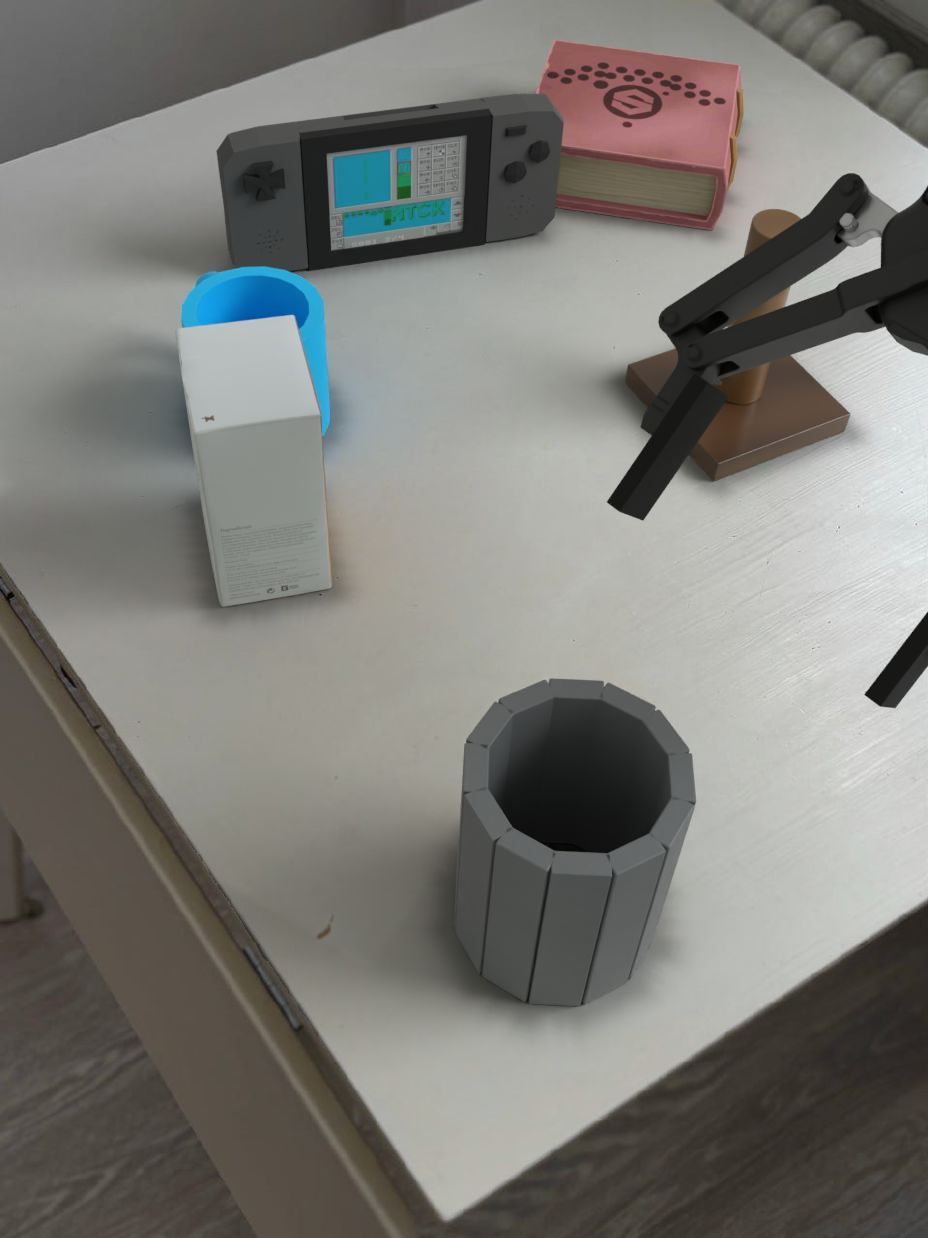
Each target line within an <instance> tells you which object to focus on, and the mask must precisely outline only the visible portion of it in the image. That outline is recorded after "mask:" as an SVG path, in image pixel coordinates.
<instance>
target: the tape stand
mask: <svg viewBox="0 0 928 1238" xmlns="http://www.w3.org/2000/svg"><path fill="white" fill-rule="evenodd" d="M801 219H802V217H800V216H799V215H797V214H795V213H794V212H791V211H788V210H785V209H781V208H768V209H764V210H760V211H758V212H757V213H756V214H755V215H754V216H753V217H752V219H751V222H750V227H749V231H748V235H747V239H746V243H745V247H744V253H743V257H744V256H746V255H747V254H749V253H750V252H752V251H753V250H755V249H756V248H758V247H759V246H761V245H763V244H764V243H766V242H767V241H769V240H770V239H772V238H773V237H775V236H776V235H778V234H779V233H781V232H782V231H784V230H785V229H787V228H788V227H790V226H791V225H793V224H795V223H796V222H798V221H799V220H801ZM791 287H792V285H791V286H790V287H788V288H787V289H785V290H784V291H782V292H780V293H779V294H777V295H776V296H774V297H773V298H771V299H769V300H768V301H766V302H765V303H763V304H762V305H760V306H758V307H757V308H755V309H754V310H752V311H751V312H749V313H747V314H746V315H744V316H743V317H741V318H740V319H738V320H736V321H735V322H733V323H732V324H730V325H729V326H727V327H726V328H728V327H731V326H733V325H736V324H739V323H742V322H744V321H747V320H750V319H753V318H755V317H758V316H761V315H764V314H767V313H769V312H772V311H775V310H778V309H780V308H783V307H786V306H787V302H788V298H789V294H790V291H791ZM677 363H678V352H677V350H676V348H675V347H674V348H673V349H669V350H667V351H664V352H661V353H658V354H655V355H653V356H649V357H646V358H643V359H640V360H637V361H634V362H632V363H629V364H628V365H627V368H626V372H625V373H626V375H625V378H624V379H625V381H624V383H625V384H626V386H628V387H629V389H630V390H631V391H632V392H633V393H634V394H635V395H636V397H637V398H638V399H639V401H641V402H642V403H643V404H644V405H645V406H646V408H647V409H648V408H649V406H650V405H651V404H652V402H653V401H654V399H655V398H656V397H657V395H658V393H659V392H660V390H661V389H662V387H663V386H664V384H665V383H666V381H667V380H668V378H669V377H670V375H671V374H672V372H673V371H674V369H675V368H676V366H677ZM719 380H720V381H721V382H722V384H721V385H715V384H712V385H713V386H714V387H715V388H717V389H718V390H720V391H721V392H723V393H724V394H726V395H727V396H729V397H728V399H727V400H726V402H725V403H724V405H723V406H722V408H721V409H720V410H719V412H718V413H717V415H716V416H715V418H714V419H713V421H712V422H711V423H710V425H709V426H708V428H707V429H706V431H705V432H704V434H703V435H702V436H701V438H700V439H699V441H698V442H697V444H696V445H695V447H694V448H693V449H692V451H691V452H690V454H689V456H690V457H691V458H692V459H693V460H694V461H695V463H696V464H697V465H698V466H699V467H700V468H701V469H702V471H704V472H705V473H706V475H707V476H708V477H709V478H710V479H711V480H712V481H713V482H716V481H719V480H722V479H724V478H726V477H729V476H732V475H735V474H737V473H739V472H743V471H745V470H748V469H750V468H753V467H755V466H759V465H761V464H763V463H766V462H769V461H771V460H774V459H777V458H778V457H781V456H784V455H787V454H789V453H792V452H795V451H797V450H800V449H802V448H805V447H807V446H810V445H813V444H815V443H818V442H821V441H823V440H825V439H830V438H831V437H833V436H836V435H840V434H842V433H845V431H846V429H847V426H848V424H849V420H850V418H851V412H849V410H848V409H846V408H845V406H844V405H843V404H841V403H840V402H839V401H838V400H837V399H836V398H835V397H834V396H833V395H832V394H831V393H830V392H829V391H828V390H827V389H826V388H825V387H824V386H823V385H822V384H821V383H820V382H819V381H818V380H817V379H816V378H814V377H813V376H812V375H811V373H810V372H808V371H807V370H806V368H805V367H803V365H801V363H799V362H798V360H796V359H795V358H794V357H793V355H789V356H786V357H783V358H780V359H778V360H775V361H772V362H769V363H766V364H763V365H760V366H757V367H754V368H751V369H748V370H745V371H743V372H740V373H737V374H734V375H731V376H728V377H725V378H722V379H719Z"/></svg>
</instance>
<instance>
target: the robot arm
mask: <svg viewBox="0 0 928 1238" xmlns="http://www.w3.org/2000/svg"><path fill="white" fill-rule="evenodd" d="M875 238H879V239H880V267H878V268H875V269H873V270H870V271H867V272H864V273H862V274H859V275H856V276H852V277H851V278H847V279H845V280H843V281H840V283H838V284H837V285H836V286H835V288H833V289H830V290H828V291H825V292H822V293H820V294H817V295H814V296H811V297H808V298H806V299H803V300H800V301H798V302H795V303H792V304H789V305H786V306H785V307H783V308H780V309H778V310H775V311H772V312H769V313H767V314H764V315H761V316H758V317H755V318H753V319H750V320H747V321H744V322H742V323H739V324H736V325H733V326H731V327H728V328H727V326H729V325H730V324H732V323H733V322H735V321H736V320H738V319H740V318H741V317H743V316H744V315H746V314H747V313H749V312H751V311H752V310H754V309H755V308H757V307H758V306H760V305H762V304H763V303H765V302H766V301H768V300H769V299H771V298H773V297H774V296H776V295H777V294H779V293H780V292H782V291H784V290H785V289H787V288H788V287H790V286H791V287H792V286H793V285H795V284H797V282H798V283H799V281H801V280H802V279H804V278H806V277H807V276H809V275H810V274H812V273H814V272H815V271H816V270H819V269H820V268H821V267H823V266H824V265H826V264H828V263H829V262H830V261H832V260H834V259H835V258H836V257H838V255H840V254H841V253H842V252H843V251H845V249H846V248H847V247H851V248H857V247H860V246H863V245H864V244H865V243H867V242H868V241H870V240H872V239H875ZM791 287H790V288H791ZM657 322H658V327H659V329H660V330H661V331H662V332H663V333H665V335H666V337H667V338H668V339H669V341H670V342H671V343H672V346H673V347H674V349H675V348H676V350H677V352H678V363H677V366H676V368H675V369H674V371H673V372H672V374H671V375H670V377H669V378H668V380H667V381H666V383H665V384H664V386H663V387H662V389H661V390H660V392H659V393H658V395H657V397H656V398H655V399H654V401H653V402H652V404H651V405H650V406H649V408H648V407H647V409H646V411H645V412H644V414H643V416H642V419H641V424H640V429H642V430H643V431H645V432H646V433H647V434H649V435H650V437H649V439H648V440H647V442H646V443H645V445H644V446H643V448H642V449H641V451H640V452H639V454H638V455H637V456H636V458H635V459H634V460H633V463H632V464H631V465H630V467H629V469H628V470H627V471H626V473H625V474H624V476H623V477H622V478H621V480H620V482H619V483H618V485H617V486H616V487H615V488H614V490H613V492H612V494H611V495H610V496H609V497H608V499H607V500H606V503H607V504H608V505H609V506H611V507H612V508H613V509H614V510H616V511H617V512H618V513H621V514H623V515H627V516H630V517H632V518H635V519H636V520H637V519H638V520H640V521H642V522H643V521H644V520H645V519H646V518H647V516H648V514H649V513H650V512H651V510H652V509H653V508H654V506H655V505H656V503H657V502H658V501H659V499H660V497H662V495H663V493H664V492H665V490H666V489H667V487H668V486H669V484H670V483H671V481H672V480H673V478H675V475H677V473H678V471H679V470H680V468H681V467H682V465H683V464H684V463H685V461H686V460H687V458H688V457H689V456H690V452H691V451H692V449H693V448H694V447H695V445H696V444H697V442H698V441H699V439H700V438H701V436H702V435H703V434H704V432H705V431H706V429H707V428H708V426H709V425H710V423H711V422H712V421H713V419H714V418H715V416H716V415H717V413H718V412H719V410H720V409H721V408H722V406H723V405H724V403H725V402H726V400H727V399H728V397H729V396H727V395H726V394H724V393H723V392H721V391H720V390H718V389H717V388H715V387H714V386H713V385H712V384H715V385H721V384H722V382H721V381H720V380H719V379H722V378H725V377H728V376H731V375H734V374H737V373H740V372H743V371H745V370H748V369H751V368H754V367H757V366H760V365H763V364H766V363H769V362H772V361H775V360H778V359H780V358H783V357H786V356H789V355H791V356H793V355H794V354H798V353H802V352H804V351H806V350H810V349H812V348H815V347H818V346H821V345H824V344H827V343H830V342H833V341H835V340H838V339H842V338H844V337H848V336H850V335H853V334H859V333H860V334H866V333H870V332H875V331H877V330H880V329H883V328H885V330H886V331H887V332H888V333H889V335H890V336H891V337H892V338H893V339H894V340H895V342H896V343H898V344H899V345H901V346H903V347H904V348H906V349H907V350H909V351H911V352H912V353H916V354H920V355H924V356H927V357H928V185H927V186H926V187H925V189H924V190H923V192H922V193H921V195H920V196H919V198H918V199H916V200H915V201H914V202H913V203H911V205H909V206H907V207H906V208H905V209H903V210H901V211H898V210H896V209H895V208H893V207H892V206H891V205H889V204H888V203H886V202H885V201H884V200H882V199H881V198H879V197H878V196H877V195H875V194H874V193H873V192H872V191H871V190H870V187H868V185H867V184H866V182H865V181H864V179H863V178H862V176H861V175H859V174H857V173H854V172H848V173H845V174H843V175H841V176H840V177H839V178H838V179H837V180H836V181H835V182H834V183H833V185H832V186H831V187H830V188H829V189H828V191H827V192H826V193H825V194H824V195H823V196H822V197H821V199H820V200H819V201H818V203H817V204H816V205H815V206H814V207H813V209H812V210H811V211H810V212H809V213H808V214H807V215H805V216H804V217H803V218H802V217H801V220H799V221H798V222H796V223H795V224H793V225H791V226H790V227H788V228H787V229H785V230H784V231H782V232H781V233H779V234H778V235H776V236H775V237H773V238H772V239H770V240H769V241H767V242H766V243H764V244H763V245H761V246H759V247H758V248H756V249H755V250H753V251H752V252H750V253H749V254H747V255H746V256H744V255H743V256H742V257H741V258H740V259H738V260H736V261H735V262H733V263H732V264H731V265H729V266H727V267H726V268H724V269H723V270H722V271H720V272H718V273H717V274H715V275H714V276H712V277H710V278H709V279H708V280H706V281H704V282H703V283H701V284H700V285H699V286H696V287H695V288H694V289H692V290H691V291H689V292H688V293H686V294H685V295H683V296H682V297H680V298H679V299H677V300H676V301H674V302H672V303H671V304H669V305H668V306H666V307H665V308H664V309H663V310H662V311H661V312H660V314H659V316H658V321H657ZM927 668H928V611H927V612H926V613H925V614H924V616H922V618H921V619H920V621H919V622H918V623H917V625H916V626H915V627H914V629H913V630H912V631H911V633H910V634H909V635H908V637H906V639H905V640H904V642H903V643H902V644H901V646H900V647H899V648H898V650H897V651H896V652H895V653H894V655H893V656H892V657H891V659H890V660H889V662H887V664H886V665H885V666H884V668H883V669H882V670H881V672H880V673H879V674H878V676H876V678H875V680H874V681H873V682H872V684H871V685H870V686H869V688H868V689H867V690H866V691H865V693H864V694H863V695H864V696H865V697H867V698H868V699H869V700H870V701H872V702H873V703H874V704H876V705H877V706H878V707H880V708H889V709H896V708H897V707H898V706H899V704H900V703H901V702H902V700H903V699H904V698H905V697H906V695H907V694H908V693H909V692H910V690H911V689H912V688H913V686H914V685H915V684H916V683H917V681H918V680H919V679H920V677H921V676H922V675H923V674H924V672H925V671H926V670H927Z"/></svg>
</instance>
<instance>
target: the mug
mask: <svg viewBox="0 0 928 1238" xmlns="http://www.w3.org/2000/svg"><path fill="white" fill-rule="evenodd" d="M286 315H294V316H295V318H296V321H297V325H298V328H299V332H300V336H301V340H302V343H303V347H304V350H305V354H306V357H307V361H308V365H309V369H310V372H311V376H312V379H313V383H314V387H315V391H316V394H317V398H318V402H319V406H320V410H321V415H322V436H323V437H324V436H325V435H326V433H327V430H328V428H329V426H330V424H331V403H330V387H329V386H330V385H329V371H328V370H329V368H328V353H327V337H326V335H327V334H326V321H325V320H326V319H325V303H324V299H323V297H322V296H321V294H320V292H319V290H318V289H317V287H316V286H315V285H313V284H312V283H311V282H309V281H308V280H307V279H306V278H304V277H303V276H301V275H298V274H296V273H294V272H292V271H286V270H282V269H276V268H270V267H264V266H263V267H241V268H237V267H236V268H232V269H227V270H223V271H220V272H219V271H217V270H211V271H208V272H207V271H206V272H204V273H202V274H201V275H199V276H198V277H197V279H196V282H195V284H194V288H192V289H191V290H190V291H189V292H188V294H187V295H186V297H185V299H184V301H183V303H182V304H181V312H180V322H181V328H186V327H194V326H203V325H211V324H220V323H228V322H236V321H245V320H253V319H262V318H270V317H278V316H286Z"/></svg>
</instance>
